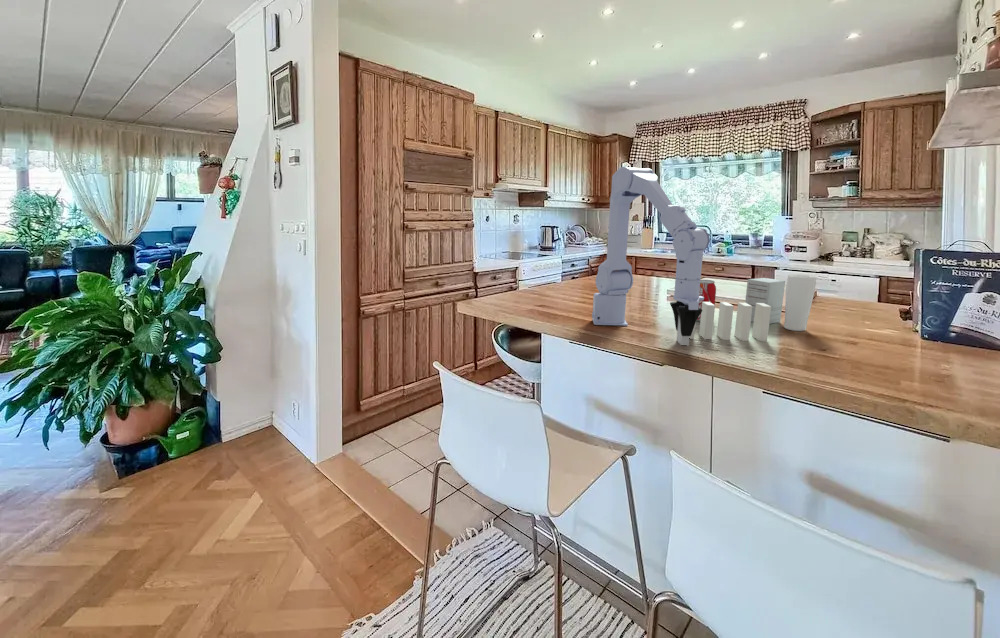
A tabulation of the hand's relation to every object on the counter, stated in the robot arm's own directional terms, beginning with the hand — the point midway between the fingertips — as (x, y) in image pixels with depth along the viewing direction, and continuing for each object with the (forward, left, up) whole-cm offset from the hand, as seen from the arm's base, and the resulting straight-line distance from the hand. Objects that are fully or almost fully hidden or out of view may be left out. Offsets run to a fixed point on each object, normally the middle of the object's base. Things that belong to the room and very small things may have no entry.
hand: (683, 333), depth 122 cm
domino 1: (0, 0, -3) cm, 3 cm away
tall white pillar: (+35, +19, -3) cm, 40 cm away
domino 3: (+7, +7, -3) cm, 11 cm away
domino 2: (+3, +7, -3) cm, 8 cm away
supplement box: (+30, +29, -3) cm, 42 cm away
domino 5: (+16, +7, -3) cm, 18 cm away
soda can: (+12, +28, -3) cm, 30 cm away
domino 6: (+21, +7, -3) cm, 22 cm away
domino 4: (+12, +7, -3) cm, 14 cm away
